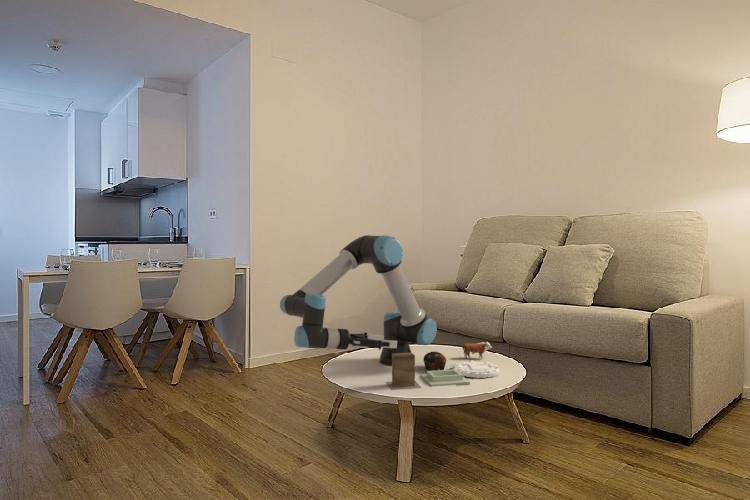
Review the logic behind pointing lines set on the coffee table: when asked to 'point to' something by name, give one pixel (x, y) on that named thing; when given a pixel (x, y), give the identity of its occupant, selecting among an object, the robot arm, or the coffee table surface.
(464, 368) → the white textured flat disc
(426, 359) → the decorative turtle
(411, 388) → the mat
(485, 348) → the bull figurine
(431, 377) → the tray
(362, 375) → the coffee table surface
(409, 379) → the brown wooden block
